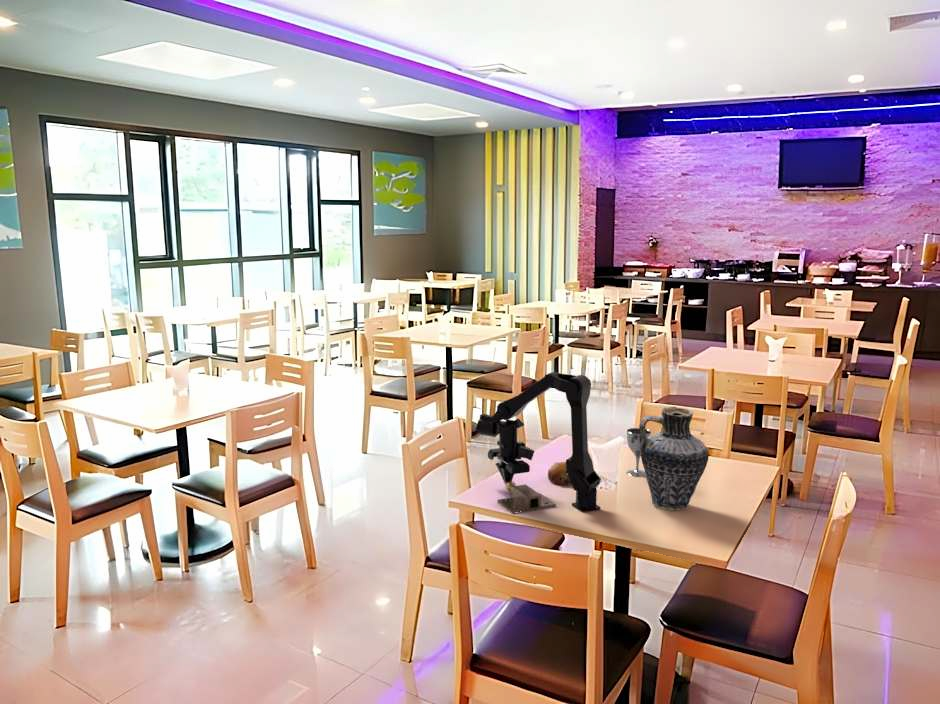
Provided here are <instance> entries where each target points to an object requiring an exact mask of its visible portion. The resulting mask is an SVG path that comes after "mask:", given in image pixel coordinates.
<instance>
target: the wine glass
mask: <svg viewBox="0 0 940 704" xmlns="http://www.w3.org/2000/svg"><path fill="white" fill-rule="evenodd" d="M626 430H627V431H626V440H627V447H628V448H629V449H630V451H631V452H632V453H633V455H634V456H635V463H636V464H635V465H636V467H635V469H630V470H627V471H626V475H628V476H630V477H634V478H636V477H637V478H642V477H643V478H644V477H646V473H645V470H644V471H643V470H640V469H639V467H640V466H639V465H640V459H641V445H642V443H643V437H642V434H641V431H640V427H635V428H634V427H631V428H628V429H626ZM645 433H646V436H647V437H649V436H651V435H652V431H651V430H650V429H648V428H645Z"/></svg>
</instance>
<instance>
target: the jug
mask: <svg viewBox="0 0 940 704" xmlns="http://www.w3.org/2000/svg"><path fill="white" fill-rule="evenodd" d="M693 415H694V411H692V410H689V408H688V409H687V408H683V407H677V406H671V407H663V408H662V409H661V414H659V415H658V416H657V415H656V416H655V415H652V414H651V415H647V416H644V417H643V418H641V420H640V423H639V428H640V431H641V434H642V437H643V443H642V445H641V457H640V459H641V463H642V467H643V469H644V472H645V473H646V476H645V477H646V480H647V485H648V488H649V493H650V497H651V503H652V505H654V506H655V507H658V508H660V509H664V510H667V511H668V510H669V511H680V510H684V509H686V508H687V507H688V505H689V503H690V501H691V498H693V495H694V492H695V490H696V488H697V487H698V484H699V482H700V479H701V478H702V476H703V474H704V472H705V471H706V467H707V464H708V461H709V457H710V456H709V450H708V448H707V446H706V444H705V443H704V442H703V441H702V439H701V440H700V439H699V438H697V436H696V437H695V436H694V435H692V433H691V429H690V424H691V421H692V419H693ZM648 422H654V423H656V424H661V429H660V431H659V432H656V433H653V434H651V436H649V437H647V436H646V433H645V429H646V427H647V423H648Z"/></svg>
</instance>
